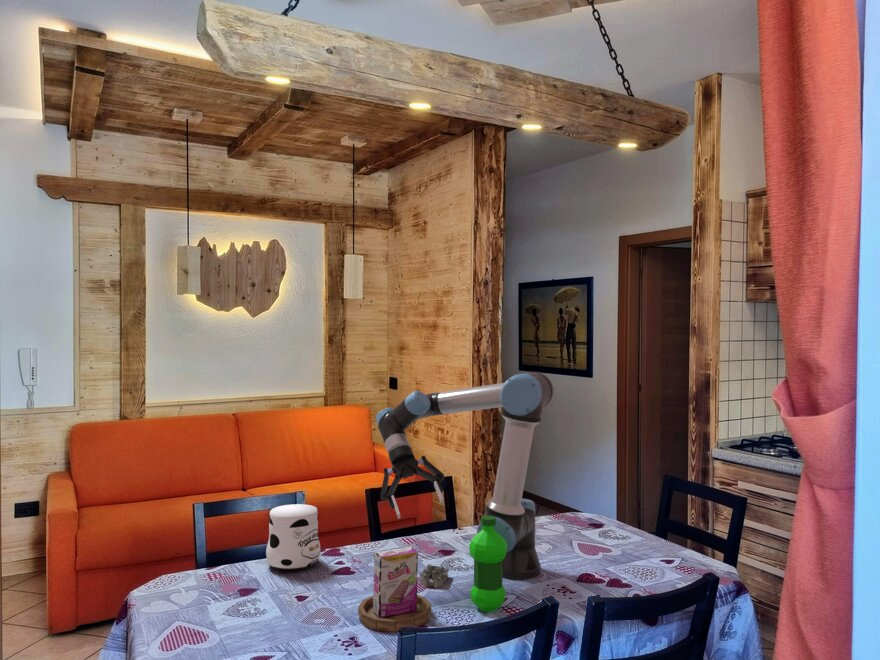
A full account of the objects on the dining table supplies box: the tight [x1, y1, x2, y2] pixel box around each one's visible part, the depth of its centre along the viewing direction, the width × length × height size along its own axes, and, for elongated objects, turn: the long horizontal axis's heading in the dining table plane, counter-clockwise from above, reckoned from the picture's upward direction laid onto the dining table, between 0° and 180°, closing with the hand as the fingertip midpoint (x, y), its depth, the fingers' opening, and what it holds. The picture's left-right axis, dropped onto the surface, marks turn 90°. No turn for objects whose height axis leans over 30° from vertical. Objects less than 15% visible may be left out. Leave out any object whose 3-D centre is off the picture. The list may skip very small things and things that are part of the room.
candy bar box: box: [372, 546, 419, 618], centre depth 179 cm, size 11×5×16 cm, turn 117°
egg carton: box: [419, 563, 450, 589], centre depth 204 cm, size 11×8×4 cm
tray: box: [357, 594, 432, 633], centre depth 179 cm, size 19×19×3 cm
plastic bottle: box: [468, 515, 507, 613], centre depth 185 cm, size 10×10×25 cm
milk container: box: [265, 503, 321, 571], centre depth 218 cm, size 17×17×18 cm
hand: (421, 509), depth 199 cm, fingers open, 13 cm apart
